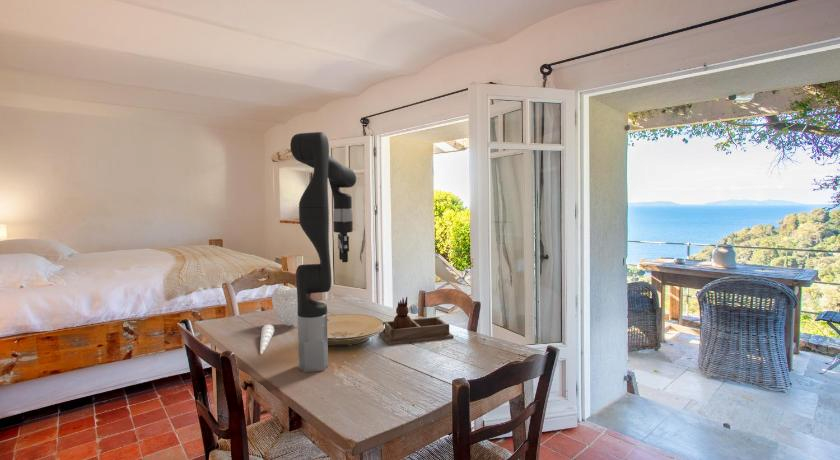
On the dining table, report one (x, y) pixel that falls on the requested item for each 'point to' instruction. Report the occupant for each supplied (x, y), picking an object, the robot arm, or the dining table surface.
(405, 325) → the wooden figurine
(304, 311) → the robot arm
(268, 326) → the unicorn horn
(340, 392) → the dining table surface
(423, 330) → the brown divided wooden tray
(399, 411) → the dining table surface
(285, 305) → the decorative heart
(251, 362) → the dining table surface
